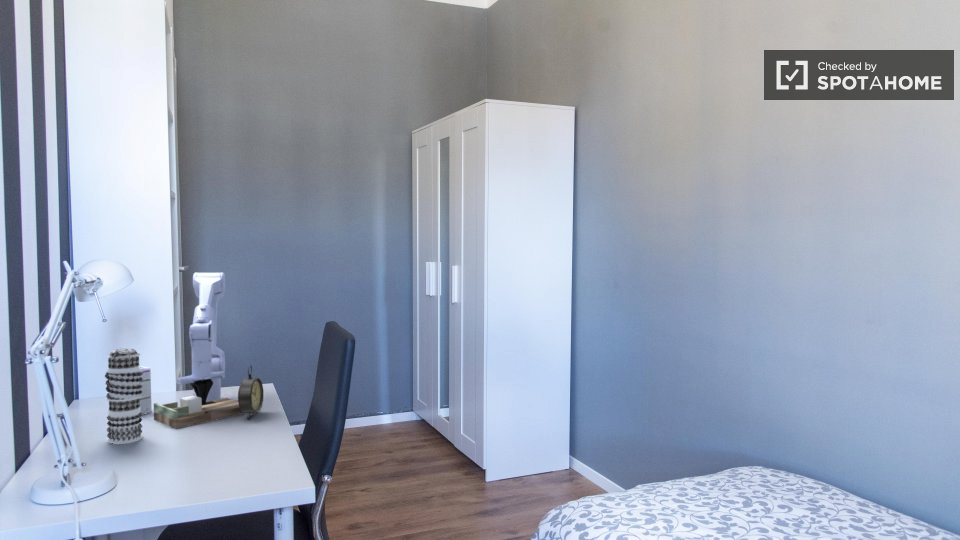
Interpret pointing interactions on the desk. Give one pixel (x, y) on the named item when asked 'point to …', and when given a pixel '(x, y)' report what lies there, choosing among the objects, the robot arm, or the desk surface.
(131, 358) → the decorative candle
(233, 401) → the trap board
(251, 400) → the alarm clock
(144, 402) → the syrup box
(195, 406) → the white block
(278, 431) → the desk surface
